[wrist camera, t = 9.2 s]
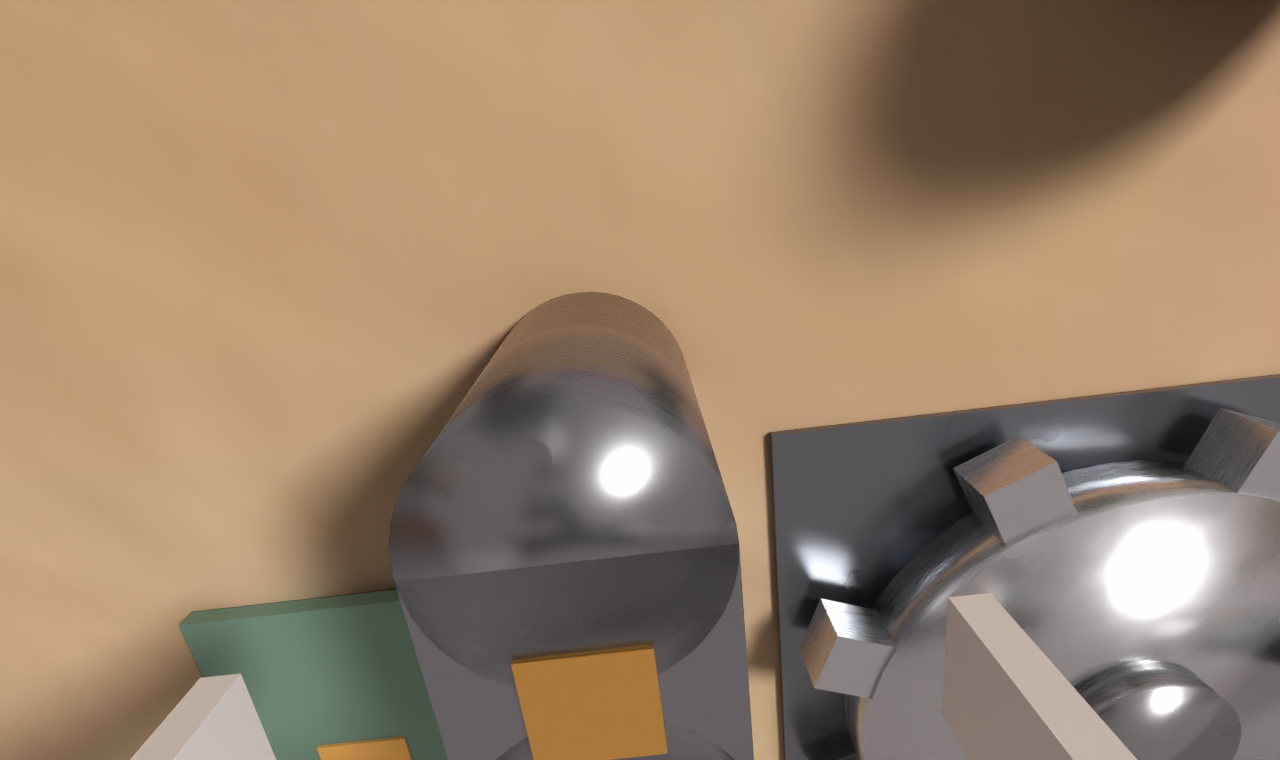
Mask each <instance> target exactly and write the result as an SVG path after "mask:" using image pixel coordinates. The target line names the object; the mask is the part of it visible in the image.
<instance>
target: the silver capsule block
mask: <svg viewBox="0 0 1280 760" xmlns="http://www.w3.org/2000/svg"><path fill="white" fill-rule="evenodd" d="M389 552H390V564H391V569H392V573H393V578H394V582H395V585H396V589H397V592H398V595H399V599H400V602H401V605H402V609H403V612H404V615H405V618H406V622H407V625H408V628H409V632H410V635H411V638H412V641H413V645H414V648H415V651H416V655H417V658H418V661H419V665H420V668H421V671H422V674H423V678H424V681H425V684H426V688H427V691H428V694H429V697H430V701H431V704H432V707H433V711H434V714H435V717H436V720H437V724H438V727H439V730H440V734H441V737H442V740H443V744H444V747H445V750H446V753H447V757H448V760H754V755H753V740H752V726H751V711H750V697H749V682H748V667H747V653H746V638H745V624H744V609H743V594H742V580H741V565H740V551H739V540H738V533H737V526H736V522H735V519H734V516H733V512H732V509H731V506H730V503H729V499H728V496H727V493H726V490H725V487H724V484H723V480H722V477H721V474H720V471H719V468H718V465H717V461H716V458H715V455H714V452H713V449H712V446H711V442H710V439H709V436H708V433H707V430H706V427H705V423H704V420H703V417H702V414H701V411H700V408H699V404H698V401H697V398H696V395H695V392H694V389H693V385H692V382H691V379H690V376H689V373H688V370H687V366H686V363H685V360H684V357H683V354H682V352H681V349H680V347H679V345H678V343H677V341H676V340H675V338H674V337H673V335H672V333H671V332H670V331H669V330H668V328H667V327H666V326H665V325H664V324H663V323H662V322H661V321H660V320H659V319H658V318H657V317H656V316H655V315H654V314H652V313H651V312H650V311H648V310H647V309H645V308H644V307H642V306H640V305H638V304H636V303H634V302H632V301H630V300H628V299H625V298H622V297H619V296H616V295H611V294H606V293H597V292H582V293H573V294H568V295H563V296H560V297H557V298H554V299H551V300H549V301H547V302H545V303H543V304H541V305H539V306H538V307H536V308H535V309H533V310H531V311H530V312H529V313H527V314H526V315H525V316H524V317H523V318H522V319H521V320H520V321H519V322H518V323H517V324H516V325H515V326H514V327H513V329H512V330H511V331H510V333H509V334H508V335H507V337H506V338H505V340H504V341H503V343H502V344H501V346H500V347H499V348H498V350H497V351H496V353H495V354H494V356H493V357H492V358H491V360H490V361H489V363H488V364H487V366H486V367H485V368H484V370H483V371H482V373H481V374H480V376H479V377H478V379H477V380H476V381H475V383H474V384H473V386H472V387H471V389H470V390H469V391H468V393H467V394H466V396H465V397H464V399H463V400H462V401H461V403H460V404H459V406H458V407H457V409H456V410H455V412H454V413H453V414H452V416H451V417H450V419H449V420H448V422H447V423H446V424H445V426H444V427H443V429H442V430H441V432H440V433H439V435H438V436H437V437H436V439H435V440H434V442H433V443H432V445H431V446H430V447H429V449H428V450H427V452H426V453H425V455H424V456H423V457H422V459H421V460H420V462H419V463H418V465H417V466H416V468H415V469H414V471H413V472H412V474H411V475H410V477H409V478H408V480H407V482H406V483H405V485H404V487H403V489H402V491H401V494H400V496H399V498H398V500H397V503H396V505H395V509H394V513H393V517H392V521H391V527H390V537H389Z"/></svg>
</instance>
